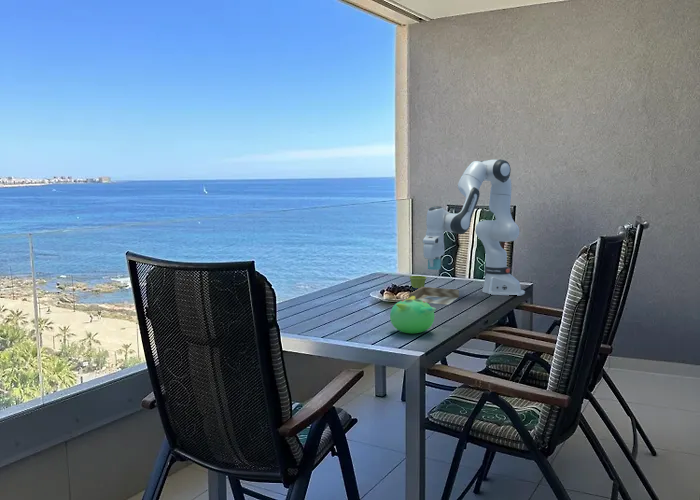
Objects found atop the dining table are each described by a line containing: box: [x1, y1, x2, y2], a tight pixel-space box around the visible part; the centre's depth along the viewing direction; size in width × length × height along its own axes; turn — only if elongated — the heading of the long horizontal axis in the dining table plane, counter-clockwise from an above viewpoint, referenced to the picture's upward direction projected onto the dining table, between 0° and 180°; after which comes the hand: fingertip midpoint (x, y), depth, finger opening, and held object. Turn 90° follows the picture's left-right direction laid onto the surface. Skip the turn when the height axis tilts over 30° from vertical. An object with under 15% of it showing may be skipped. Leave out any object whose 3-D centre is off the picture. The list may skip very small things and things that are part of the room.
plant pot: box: [409, 275, 427, 289], centre depth 345 cm, size 9×9×9 cm
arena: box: [408, 286, 460, 306], centre depth 323 cm, size 20×20×5 cm
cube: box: [427, 258, 442, 271], centre depth 323 cm, size 5×5×5 cm
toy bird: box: [389, 296, 437, 334], centre depth 258 cm, size 18×17×15 cm
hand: (434, 265), depth 323 cm, fingers closed on cube, 5 cm apart
